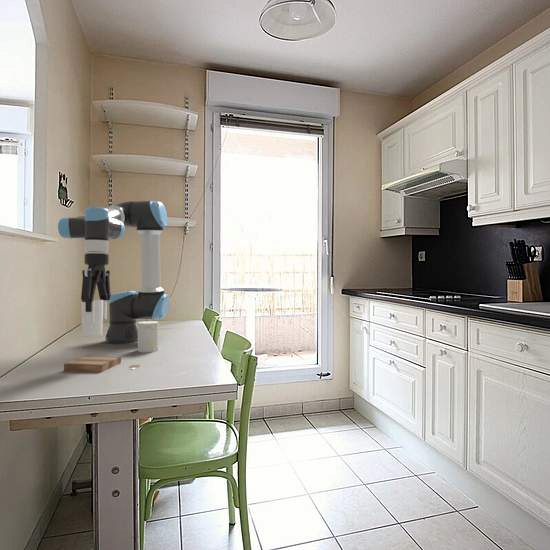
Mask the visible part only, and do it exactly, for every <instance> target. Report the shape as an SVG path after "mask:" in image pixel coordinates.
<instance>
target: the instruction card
mask: <svg viewBox="0 0 550 550" xmlns="http://www.w3.org/2000/svg"><path fill="white" fill-rule="evenodd" d="M139 367H141V364H131V365H130V366H128V370H136V369H137V368H139ZM119 372H126V370H125V369H124V368H121V369H119Z"/></svg>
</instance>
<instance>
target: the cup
mask: <svg viewBox="0 0 550 550" xmlns="http://www.w3.org/2000/svg"><path fill="white" fill-rule="evenodd" d="M159 326H160V325H159V321H156V320H155V321H154V320H146V321H145V320H143V321H138V322H137V329H138V341H137V352H138V353H154V352H158V351H159V333H160V332H159V329H160V328H159Z"/></svg>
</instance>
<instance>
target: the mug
mask: <svg viewBox="0 0 550 550" xmlns="http://www.w3.org/2000/svg"><path fill="white" fill-rule="evenodd" d="M93 302H95V322H86V303H85V302H82V301H81V336H82V337H86V338H87V337H89V338H90V337H91V338H92V337H100V336H103V329H104V328H103V324H104V319H103V300H100V299H93Z"/></svg>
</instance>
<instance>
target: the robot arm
mask: <svg viewBox="0 0 550 550" xmlns="http://www.w3.org/2000/svg"><path fill="white" fill-rule="evenodd" d="M167 213H168V212H167V210H166V208H165V205H164V204H163V203H162V202H161V201H156V200H143V201H142V200H140V201H136V200H135V201H130V200H129V201H124V202H120V203H119V202H118V203H116V204H112V205H108V206H107V207H100V206H90V207H86V208H85V210H84V215H81V216H75V217H70V216H69V217H62V218H61V219H59V221H58V223H57V230H58V234H59V235H60V237H61V238H64V239H71V240H72V239H84V252H86V253H85V254H84V264H85V265H87V266H88V267H87V269H83V270H81V274H82V283H81V292H80V293H81V295H80V300H81V303H82V302H85V303H86V322H95V302H93V300H94V298H95V293H96V288H97V291H98V296H99V300H103V320H107V319H109V324H108V325H109V326H108V328H107V332H106V335H105V336H104V337H105V338H104V343H106V344H111V345H122V344H123V345H125V344H131V343H138V325H137V320H152V321H154V320H155V321H156V320H162V319H164V318H166V315H167V313H168V312H169V306H170V298H169V295H168V294H166V293H165V289H164V288H163V287H162V280H161V278H162V276H161V273H162V272H161V271H162V270H161V268H162V267H161V234H162V233H163V232H164V228H166V227H167V225H168V214H167ZM126 227H127V228H136V232H137V233H138V234H139V236H140V240H139V241H140V266H141V267H140V272H141V273H140V274H141V278H140V279H141V281H140V282H141V287H140V288H139V290H138V291H136V290H132V291H122V292H114V293H112V294H111V284H110V282H111V281H110V275H111V273H110V270H106V266H107V265H109V259H110V258H109V254H108V253H109V251H110V250H109V248H110V247H109V244H110V243H109V241H110V240H118V239H121V238H123V236H124V235H125V232H126ZM109 239H110V240H109ZM137 292H138V293H137ZM108 301H109V303H108ZM107 306H108V307H109V314H108V307H107ZM108 315H109V318H108V317H107V316H108Z"/></svg>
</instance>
